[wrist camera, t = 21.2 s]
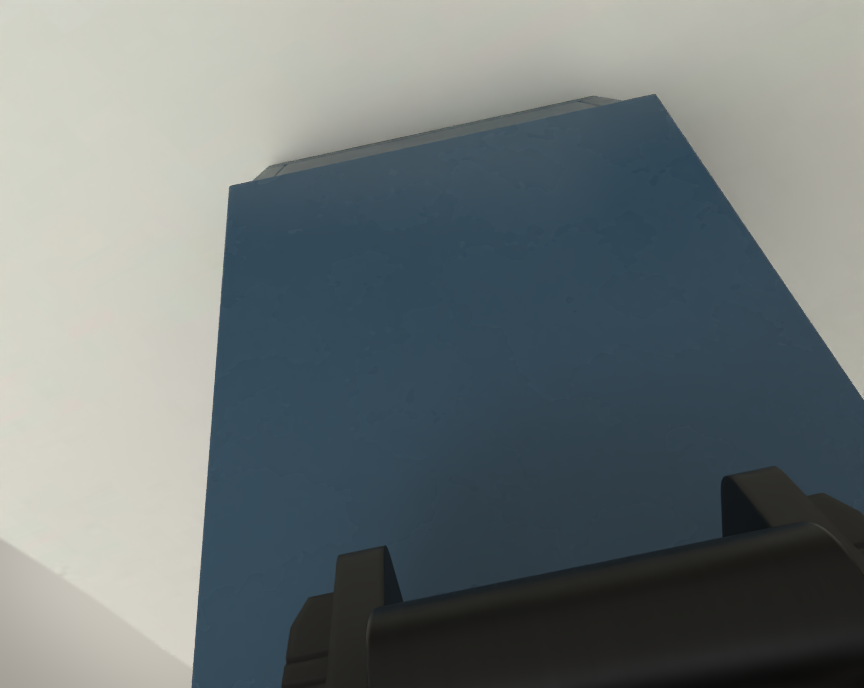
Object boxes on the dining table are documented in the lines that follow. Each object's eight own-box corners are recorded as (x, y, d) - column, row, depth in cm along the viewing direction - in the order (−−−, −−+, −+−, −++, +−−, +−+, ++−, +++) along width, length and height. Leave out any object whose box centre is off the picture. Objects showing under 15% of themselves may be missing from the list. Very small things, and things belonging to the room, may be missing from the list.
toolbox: (633, 465, 32) (682, 545, 27) (369, 519, 32) (366, 609, 27) (594, 95, 26) (649, 104, 21) (267, 166, 26) (236, 193, 21)
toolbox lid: (1116, 831, 9) (1540, 769, 5) (190, 1007, 9) (-84, 1077, 5) (653, 117, 20) (673, -75, 16) (238, 206, 21) (160, 39, 17)
